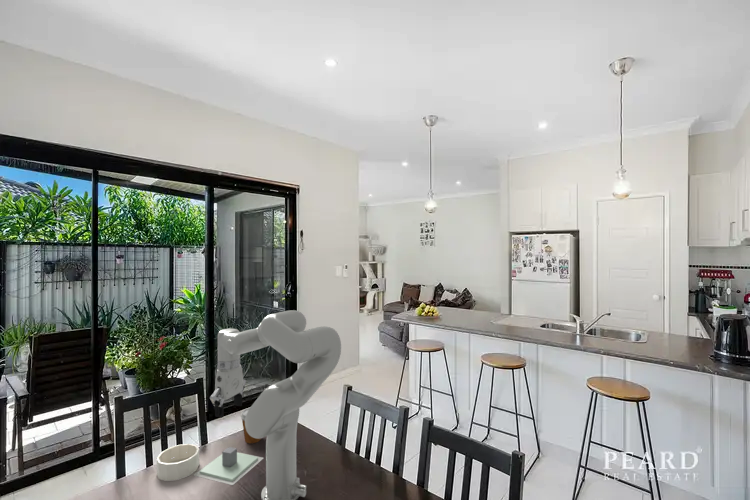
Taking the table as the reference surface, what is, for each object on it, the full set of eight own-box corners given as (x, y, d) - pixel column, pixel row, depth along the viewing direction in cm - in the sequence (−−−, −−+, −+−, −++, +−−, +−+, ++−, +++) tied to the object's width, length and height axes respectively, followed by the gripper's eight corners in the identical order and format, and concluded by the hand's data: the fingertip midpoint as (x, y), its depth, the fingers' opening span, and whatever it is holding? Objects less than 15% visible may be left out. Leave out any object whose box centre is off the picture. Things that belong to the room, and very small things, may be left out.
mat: (263, 458, 140) (263, 457, 140) (232, 486, 124) (232, 485, 124) (227, 450, 145) (227, 449, 145) (192, 476, 129) (192, 475, 129)
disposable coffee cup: (235, 444, 150) (235, 414, 150) (250, 433, 159) (250, 405, 159) (255, 448, 147) (255, 418, 147) (269, 436, 156) (269, 408, 156)
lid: (258, 459, 139) (258, 443, 139) (232, 481, 126) (232, 464, 126) (227, 452, 143) (227, 437, 143) (199, 473, 130) (199, 456, 130)
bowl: (206, 463, 137) (206, 447, 137) (177, 485, 124) (177, 467, 124) (179, 457, 141) (179, 441, 141) (148, 477, 129) (148, 460, 129)
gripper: (220, 372, 125) (220, 423, 125) (252, 358, 141) (252, 402, 141) (202, 370, 127) (202, 420, 127) (236, 356, 144) (236, 400, 144)
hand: (229, 410), depth 134 cm, fingers open, 9 cm apart
